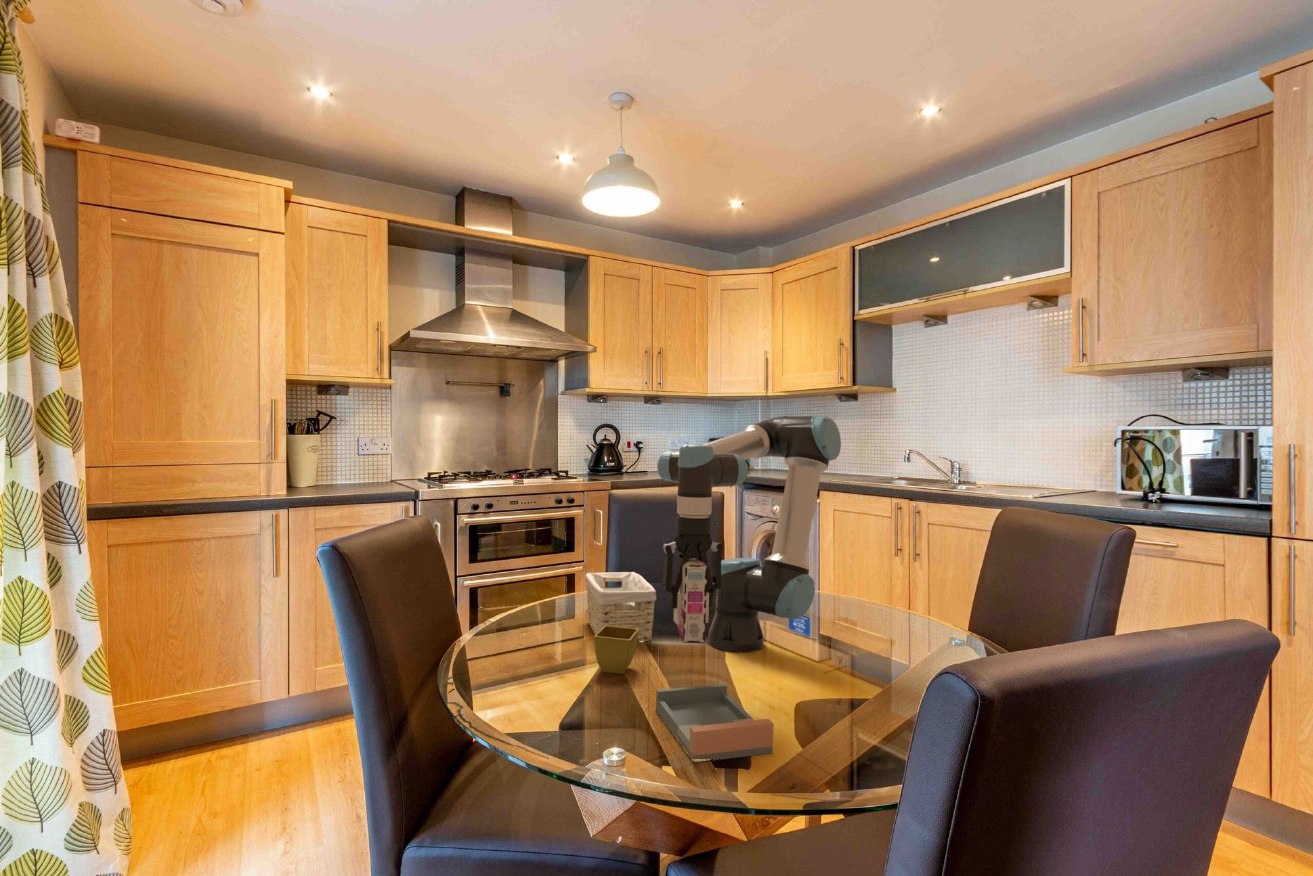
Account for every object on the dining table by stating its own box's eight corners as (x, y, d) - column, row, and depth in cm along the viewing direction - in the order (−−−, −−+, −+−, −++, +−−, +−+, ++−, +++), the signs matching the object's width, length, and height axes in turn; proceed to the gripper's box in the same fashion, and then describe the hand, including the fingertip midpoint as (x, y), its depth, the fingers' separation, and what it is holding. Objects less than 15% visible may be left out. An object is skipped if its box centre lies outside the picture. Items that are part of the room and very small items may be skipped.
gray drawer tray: (724, 704, 130) (725, 679, 130) (772, 753, 110) (773, 723, 110) (655, 710, 126) (656, 684, 126) (693, 762, 106) (694, 732, 106)
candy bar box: (706, 643, 131) (708, 565, 131) (683, 644, 130) (684, 565, 130) (698, 627, 142) (699, 555, 142) (676, 627, 142) (677, 555, 142)
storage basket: (656, 644, 168) (658, 589, 168) (596, 647, 164) (599, 591, 164) (635, 619, 191) (637, 571, 191) (582, 621, 187) (584, 572, 187)
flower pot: (628, 679, 142) (630, 639, 142) (592, 674, 144) (593, 635, 144) (637, 666, 151) (639, 628, 151) (602, 662, 153) (604, 625, 153)
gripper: (726, 513, 143) (723, 614, 143) (648, 513, 137) (645, 619, 137) (740, 517, 135) (737, 624, 136) (658, 518, 130) (655, 630, 130)
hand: (690, 621), depth 136 cm, fingers closed on candy bar box, 6 cm apart
